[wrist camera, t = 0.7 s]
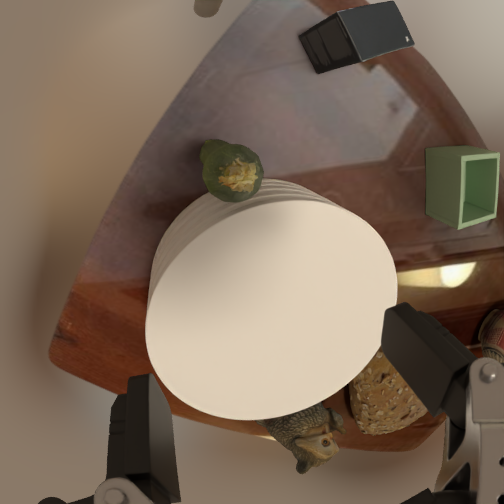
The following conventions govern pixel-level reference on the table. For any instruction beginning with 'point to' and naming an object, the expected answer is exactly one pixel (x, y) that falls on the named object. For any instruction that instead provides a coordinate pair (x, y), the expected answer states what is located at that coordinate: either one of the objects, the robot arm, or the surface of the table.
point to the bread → (383, 398)
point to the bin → (461, 184)
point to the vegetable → (230, 170)
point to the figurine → (307, 434)
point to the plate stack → (266, 302)
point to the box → (356, 36)
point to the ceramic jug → (493, 335)
